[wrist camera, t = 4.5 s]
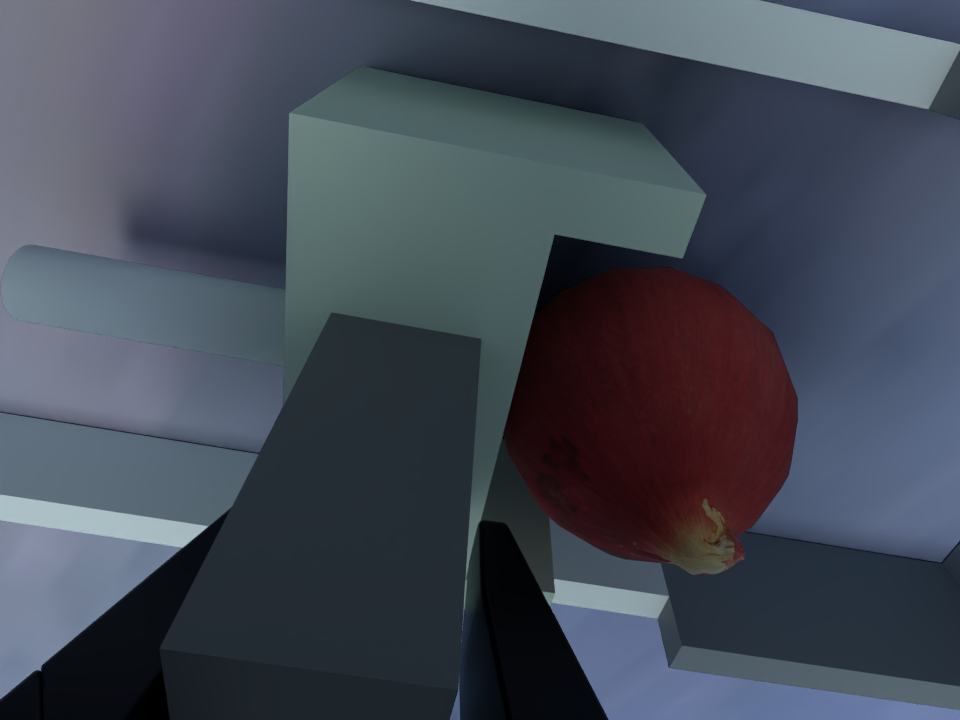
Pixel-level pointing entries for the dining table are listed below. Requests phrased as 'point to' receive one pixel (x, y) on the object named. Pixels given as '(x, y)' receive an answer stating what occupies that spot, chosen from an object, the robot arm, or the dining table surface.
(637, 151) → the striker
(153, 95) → the dining table surface
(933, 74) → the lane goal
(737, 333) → the onion
